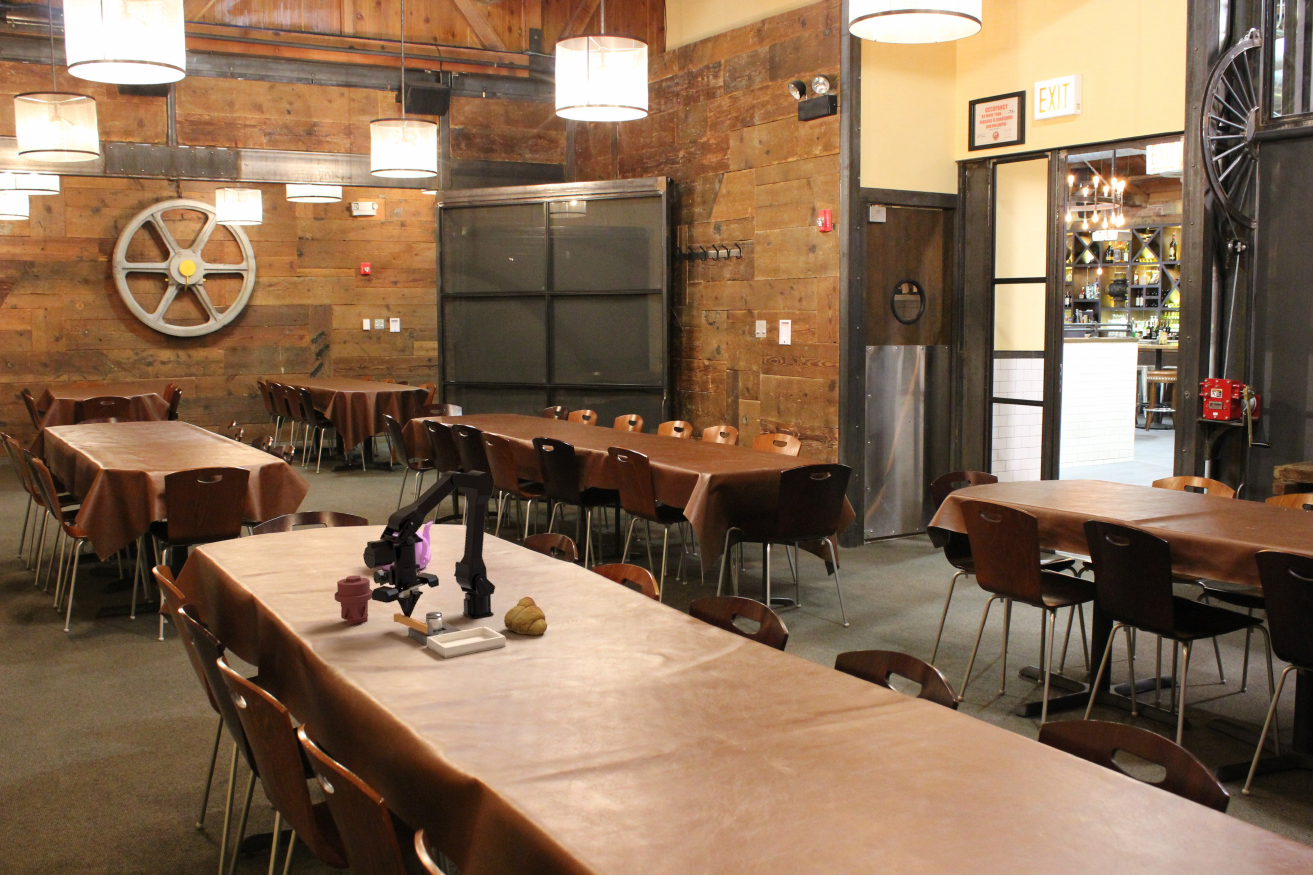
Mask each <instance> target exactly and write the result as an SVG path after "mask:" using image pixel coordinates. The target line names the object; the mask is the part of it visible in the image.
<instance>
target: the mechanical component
mask: <svg viewBox="0 0 1313 875" xmlns="http://www.w3.org/2000/svg"><path fill="white" fill-rule="evenodd" d="M336 583H337V588H336V589H337V591H336V592H335V593H334V601H336V602H338V603H340V607H341V610H340V612H341V613H340V617H341V619H343V620H345V621H347V622H346V624H347V625H348V626H354V625H356V624H361V623H366V622H368V621H369V619H368V618H369V613H368V612H369V601H370V600H372V591H373V589H371V584H370V583H371V581H370V579H369V578H366V577H362V576H361V575H348V576H346V578H343V579H340V580H338V581H337V582H336Z"/></svg>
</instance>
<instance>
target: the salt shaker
mask: <svg viewBox="0 0 1313 875" xmlns="http://www.w3.org/2000/svg"><path fill="white" fill-rule="evenodd" d="M427 621H433V632H437V631H442V622H443V613H442V612H440V611H431V612H427V613H425V624H427Z"/></svg>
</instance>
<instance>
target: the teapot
mask: <svg viewBox="0 0 1313 875" xmlns="http://www.w3.org/2000/svg"><path fill="white" fill-rule="evenodd" d="M433 523H434V521H433V520H431V521H429V522H427V523H426V524H424V527H423V531H422V533H421V532H420V531H419V530H418V531H417V532H416V534H417V535H418V536H419V537H420V538H422V539H423V542H419V543H415V544H416V564H420V568H418V569H417V570H420V569H424V568H426V567H427V566H428V565H429V563H431V560H432V552H431V549H430V546H431V532H430V530H431V526H432V525H433ZM393 535H394V536H398V535H397V534H393ZM391 565H394V562H393V563H392V564H391ZM381 568H382V570H386V571H390V565H386V566H382V567H381Z"/></svg>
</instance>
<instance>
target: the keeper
mask: <svg viewBox="0 0 1313 875" xmlns="http://www.w3.org/2000/svg"><path fill="white" fill-rule="evenodd" d="M393 622H395V623H399V624H401V625H404V626H407V627H408V628H410V627H411V628H414V629H416V630H419V631H421V632H424V633H426V634H428V635H433V621H427V624H426V622H422V621H419V620H417V619H414V618H413V617H412V618H411V616H410V617H407V616H404V614H402V613H400V612H396V613H393Z"/></svg>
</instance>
